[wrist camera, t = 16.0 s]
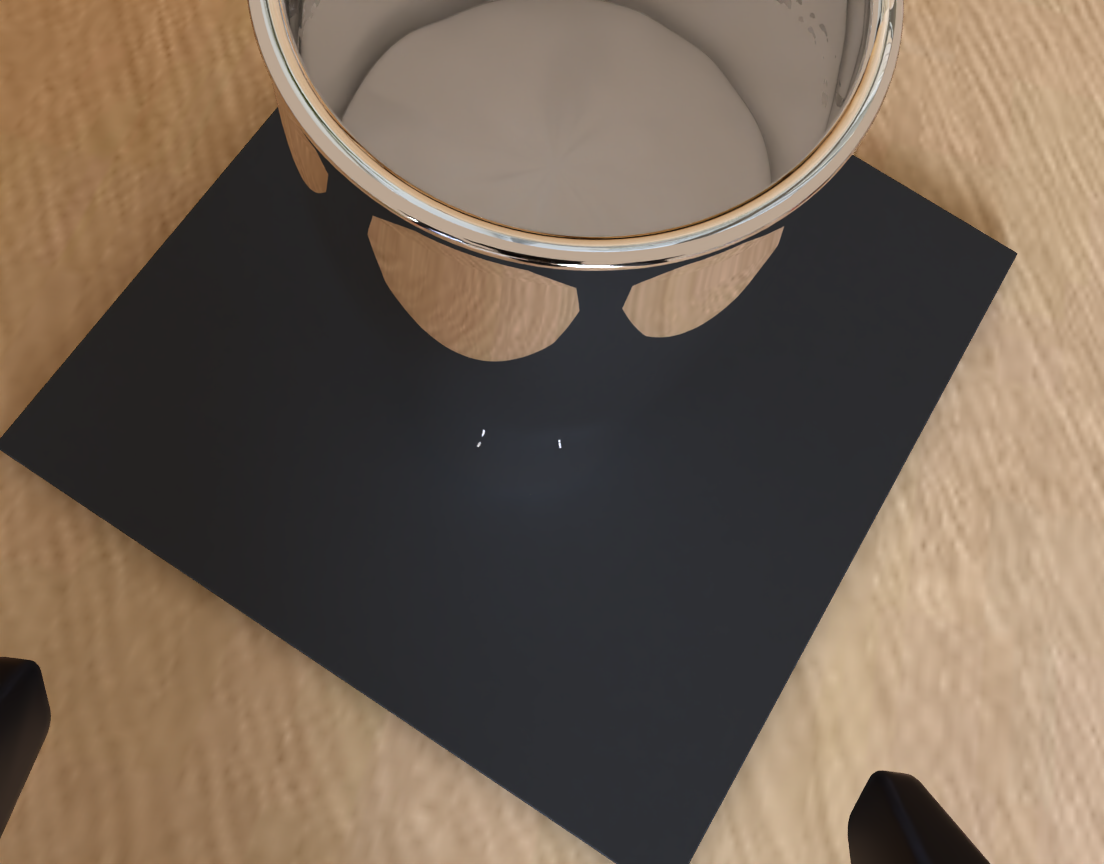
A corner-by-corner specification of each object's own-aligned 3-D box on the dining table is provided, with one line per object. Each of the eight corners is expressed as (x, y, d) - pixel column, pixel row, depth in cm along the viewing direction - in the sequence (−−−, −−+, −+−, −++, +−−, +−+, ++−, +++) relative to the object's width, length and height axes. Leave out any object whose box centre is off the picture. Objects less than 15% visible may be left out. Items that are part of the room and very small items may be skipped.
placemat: (1010, 258, 25) (1018, 253, 25) (666, 895, 21) (669, 900, 20) (443, -81, 27) (442, -92, 26) (2, 448, 22) (-7, 445, 22)
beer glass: (357, 307, 23) (135, -242, 9) (597, 231, 24) (762, -376, 10) (442, 551, 22) (349, 393, 7) (692, 460, 23) (1048, 161, 8)
